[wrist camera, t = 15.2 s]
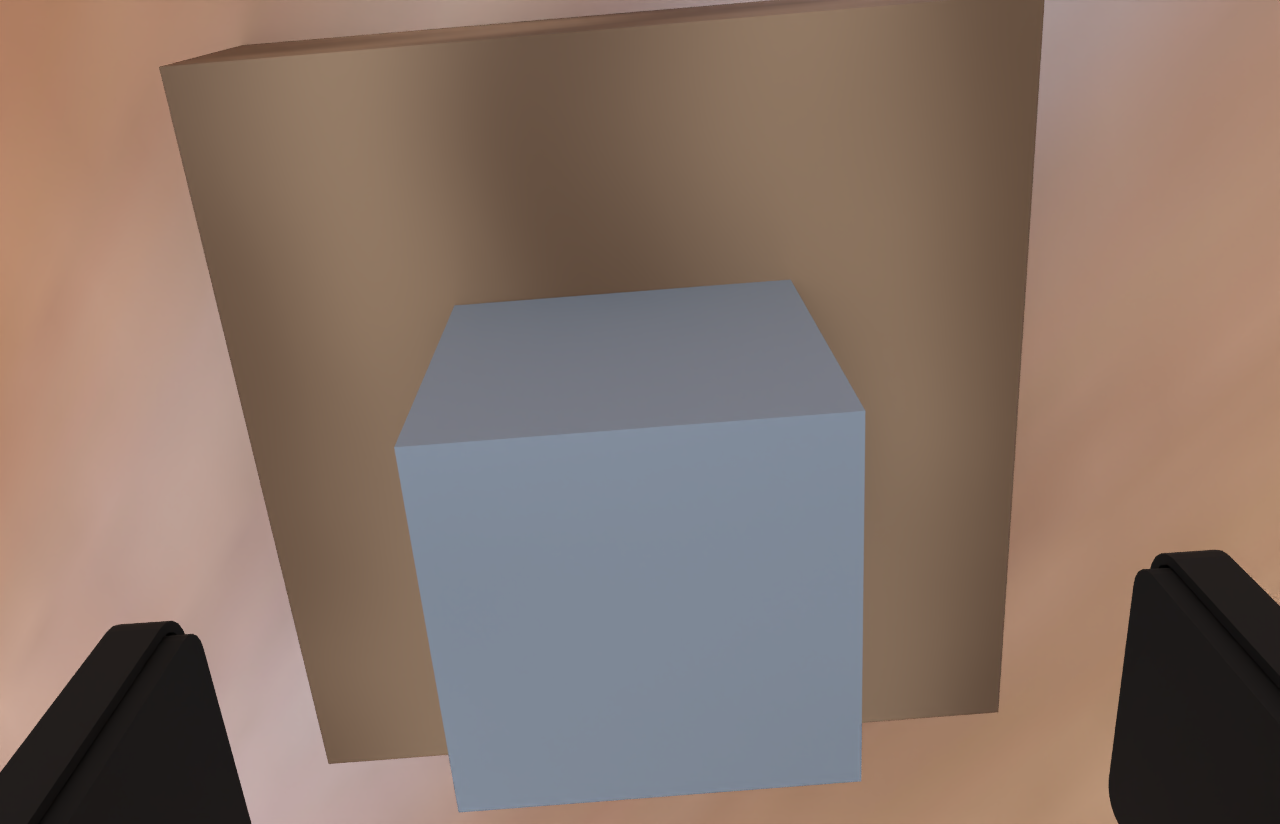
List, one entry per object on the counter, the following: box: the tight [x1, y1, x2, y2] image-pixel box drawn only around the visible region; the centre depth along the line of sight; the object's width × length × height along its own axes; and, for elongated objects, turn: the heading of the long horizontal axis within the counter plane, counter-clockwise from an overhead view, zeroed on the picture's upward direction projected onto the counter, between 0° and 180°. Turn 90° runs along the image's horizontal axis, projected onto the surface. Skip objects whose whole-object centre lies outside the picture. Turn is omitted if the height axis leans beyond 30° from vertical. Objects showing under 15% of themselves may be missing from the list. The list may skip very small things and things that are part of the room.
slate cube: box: [394, 280, 865, 812], centre depth 15 cm, size 5×5×5 cm
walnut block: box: [159, 0, 1044, 764], centre depth 19 cm, size 12×12×4 cm
